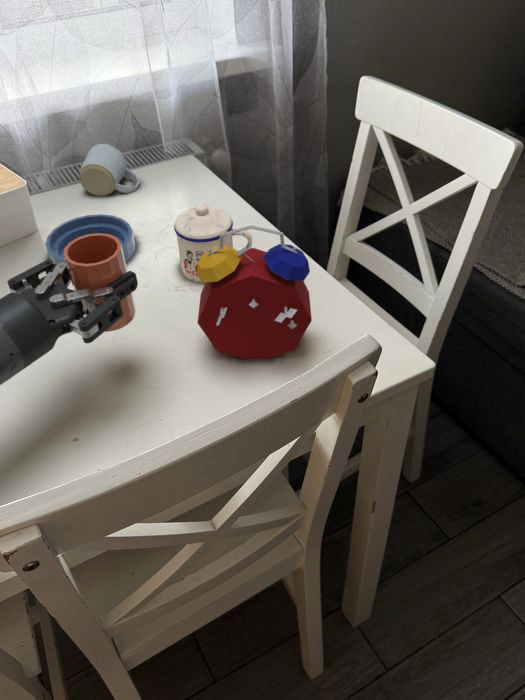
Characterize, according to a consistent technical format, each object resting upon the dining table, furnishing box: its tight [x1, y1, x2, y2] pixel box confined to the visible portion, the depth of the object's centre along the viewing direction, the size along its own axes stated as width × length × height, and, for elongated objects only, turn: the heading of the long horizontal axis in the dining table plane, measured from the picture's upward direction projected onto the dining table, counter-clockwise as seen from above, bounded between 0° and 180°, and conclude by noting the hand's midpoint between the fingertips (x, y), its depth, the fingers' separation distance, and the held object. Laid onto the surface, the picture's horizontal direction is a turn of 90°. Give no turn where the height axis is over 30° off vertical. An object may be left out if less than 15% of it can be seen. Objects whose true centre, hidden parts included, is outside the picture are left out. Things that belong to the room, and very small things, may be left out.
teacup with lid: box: [173, 203, 253, 284], centre depth 94 cm, size 12×9×12 cm
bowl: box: [45, 213, 136, 264], centre depth 101 cm, size 14×14×4 cm
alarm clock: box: [196, 225, 313, 360], centre depth 77 cm, size 15×9×20 cm, turn 90°
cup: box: [63, 233, 137, 333], centre depth 72 cm, size 6×6×10 cm
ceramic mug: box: [79, 143, 141, 197], centre depth 116 cm, size 11×8×8 cm
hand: (113, 267), depth 73 cm, fingers closed on cup, 6 cm apart
